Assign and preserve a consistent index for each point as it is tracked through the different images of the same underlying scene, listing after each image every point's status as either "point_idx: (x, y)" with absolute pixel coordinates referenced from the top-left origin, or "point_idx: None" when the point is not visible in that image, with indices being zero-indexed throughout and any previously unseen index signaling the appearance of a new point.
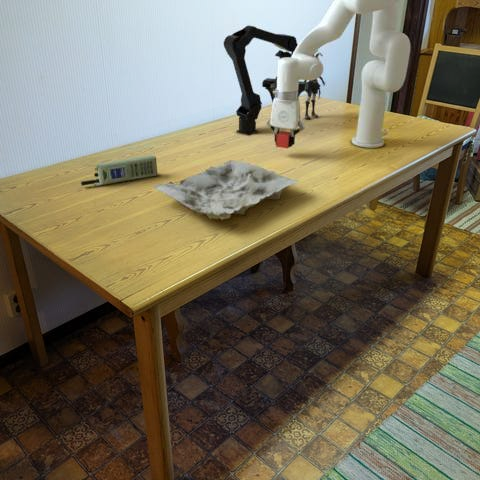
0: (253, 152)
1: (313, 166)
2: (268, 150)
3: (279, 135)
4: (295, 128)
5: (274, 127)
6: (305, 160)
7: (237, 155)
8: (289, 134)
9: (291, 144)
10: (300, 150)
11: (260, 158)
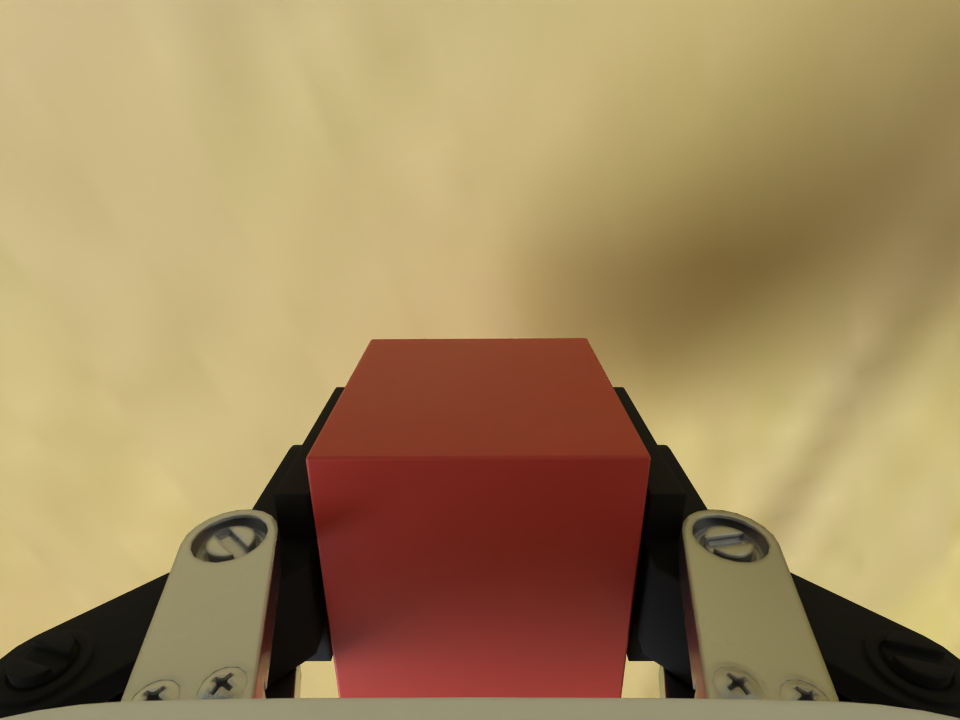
0: (87, 408)
1: (881, 526)
2: (205, 255)
3: None
4: (817, 662)
5: (116, 693)
6: (774, 400)
7: (7, 559)
8: (608, 627)
9: None
10: (640, 27)
11: None
